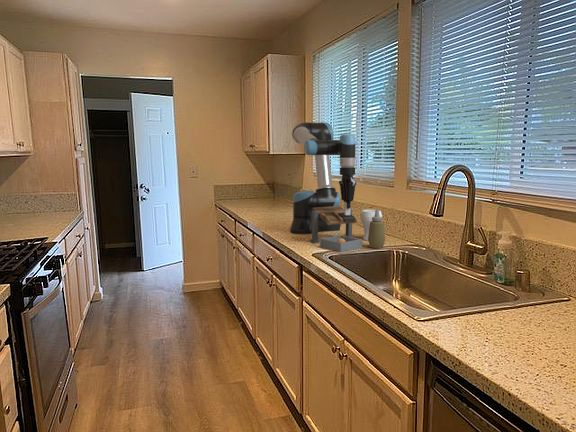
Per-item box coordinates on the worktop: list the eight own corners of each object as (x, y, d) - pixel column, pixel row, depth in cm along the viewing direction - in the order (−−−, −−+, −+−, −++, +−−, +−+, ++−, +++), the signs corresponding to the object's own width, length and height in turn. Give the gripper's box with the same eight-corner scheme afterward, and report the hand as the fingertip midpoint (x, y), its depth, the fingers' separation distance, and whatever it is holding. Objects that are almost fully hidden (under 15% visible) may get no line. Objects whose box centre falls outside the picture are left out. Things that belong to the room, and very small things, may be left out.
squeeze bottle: (385, 246, 201) (386, 208, 198) (384, 249, 193) (385, 211, 190) (368, 245, 203) (369, 208, 201) (366, 248, 196) (367, 210, 193)
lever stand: (309, 241, 213) (309, 211, 211) (349, 237, 222) (350, 208, 219) (313, 243, 208) (313, 212, 206) (354, 239, 217) (355, 209, 215)
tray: (320, 246, 200) (320, 238, 199) (341, 243, 208) (341, 235, 208) (340, 252, 189) (340, 243, 188) (362, 247, 197) (362, 239, 197)
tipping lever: (309, 229, 221) (312, 205, 215) (336, 227, 227) (340, 203, 221) (324, 245, 206) (328, 220, 200) (352, 243, 212) (357, 218, 206)
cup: (381, 242, 210) (382, 212, 208) (360, 241, 212) (360, 211, 210) (381, 237, 220) (382, 209, 218) (360, 237, 223) (361, 209, 220)
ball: (334, 244, 196) (337, 242, 192) (338, 237, 197) (342, 235, 194) (340, 249, 196) (344, 247, 193) (344, 242, 198) (348, 241, 194)
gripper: (334, 166, 208) (334, 214, 211) (347, 167, 197) (347, 216, 200) (347, 166, 211) (347, 213, 214) (361, 166, 199) (360, 216, 202)
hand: (347, 214), depth 207 cm, fingers closed
